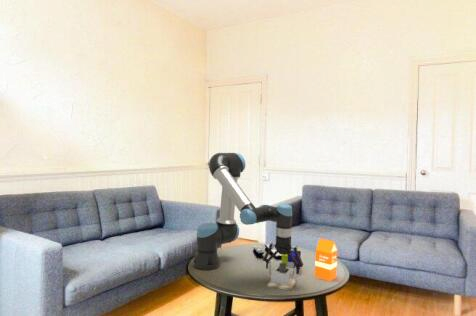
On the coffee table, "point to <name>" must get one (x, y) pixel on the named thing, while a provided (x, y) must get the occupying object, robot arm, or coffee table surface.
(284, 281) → the frame
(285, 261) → the puzzle toy
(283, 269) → the shaft block
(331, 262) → the orange juice
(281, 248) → the robot arm
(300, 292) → the coffee table surface
